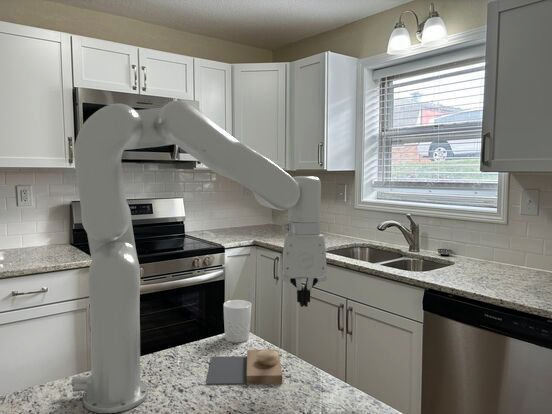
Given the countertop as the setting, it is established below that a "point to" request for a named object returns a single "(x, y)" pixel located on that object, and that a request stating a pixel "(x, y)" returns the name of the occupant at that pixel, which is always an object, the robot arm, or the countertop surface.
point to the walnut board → (262, 370)
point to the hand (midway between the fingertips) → (303, 304)
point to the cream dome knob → (267, 357)
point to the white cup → (237, 320)
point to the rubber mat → (227, 371)
